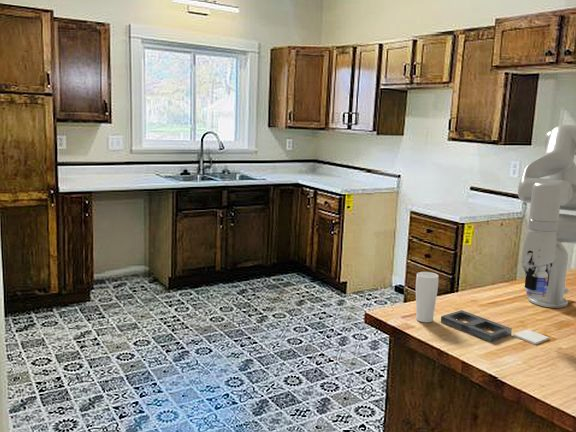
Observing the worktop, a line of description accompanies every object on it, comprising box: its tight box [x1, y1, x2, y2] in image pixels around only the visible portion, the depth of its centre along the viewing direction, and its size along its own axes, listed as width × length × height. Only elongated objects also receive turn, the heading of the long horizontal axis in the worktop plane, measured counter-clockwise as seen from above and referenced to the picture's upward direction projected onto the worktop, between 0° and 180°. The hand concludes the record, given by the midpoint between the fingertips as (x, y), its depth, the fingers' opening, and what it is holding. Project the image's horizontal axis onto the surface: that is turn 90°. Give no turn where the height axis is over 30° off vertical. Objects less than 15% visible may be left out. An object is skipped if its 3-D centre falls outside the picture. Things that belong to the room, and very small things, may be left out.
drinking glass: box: [415, 271, 439, 323], centre depth 170 cm, size 7×7×15 cm
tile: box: [512, 329, 550, 346], centre depth 159 cm, size 7×7×1 cm
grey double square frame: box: [440, 309, 513, 343], centre depth 165 cm, size 10×18×2 cm, turn 35°
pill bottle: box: [525, 263, 548, 299], centre depth 156 cm, size 5×5×10 cm
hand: (536, 286), depth 156 cm, fingers closed on pill bottle, 5 cm apart
